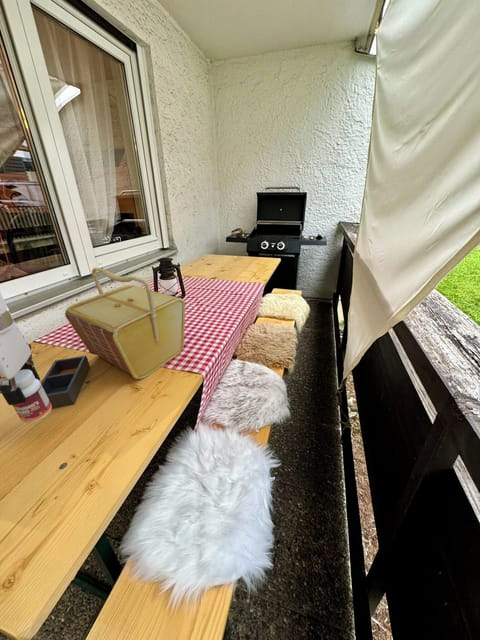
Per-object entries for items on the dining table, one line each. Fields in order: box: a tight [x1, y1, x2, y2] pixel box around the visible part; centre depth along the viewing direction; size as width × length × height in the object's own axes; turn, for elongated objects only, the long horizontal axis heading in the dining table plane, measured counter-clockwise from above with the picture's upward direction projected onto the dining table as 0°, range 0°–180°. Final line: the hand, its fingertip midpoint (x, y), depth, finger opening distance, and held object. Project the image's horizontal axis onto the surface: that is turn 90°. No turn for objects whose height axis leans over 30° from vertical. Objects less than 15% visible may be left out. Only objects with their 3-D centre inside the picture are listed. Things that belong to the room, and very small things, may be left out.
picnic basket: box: [64, 267, 186, 380], centre depth 84 cm, size 29×26×30 cm
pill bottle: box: [3, 369, 52, 424], centre depth 59 cm, size 6×6×11 cm
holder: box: [40, 354, 91, 410], centre depth 77 cm, size 9×17×5 cm, turn 14°
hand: (25, 391), depth 59 cm, fingers closed on pill bottle, 6 cm apart
